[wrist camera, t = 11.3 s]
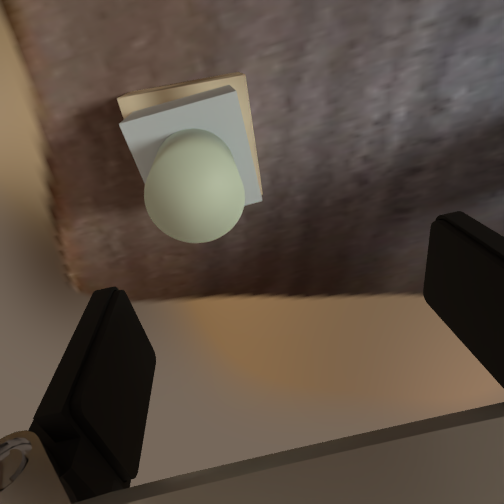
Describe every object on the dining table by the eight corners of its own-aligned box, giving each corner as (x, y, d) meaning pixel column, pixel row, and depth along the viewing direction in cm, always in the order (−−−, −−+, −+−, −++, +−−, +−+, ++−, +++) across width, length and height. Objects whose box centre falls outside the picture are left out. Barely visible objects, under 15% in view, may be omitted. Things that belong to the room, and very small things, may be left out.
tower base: (237, 71, 27) (245, 74, 23) (254, 176, 32) (262, 194, 28) (129, 91, 27) (116, 98, 23) (162, 194, 32) (156, 216, 27)
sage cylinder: (228, 122, 20) (237, 140, 15) (240, 199, 22) (250, 233, 18) (144, 135, 19) (130, 159, 15) (166, 212, 22) (159, 250, 18)
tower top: (229, 84, 23) (236, 90, 19) (252, 178, 27) (262, 200, 23) (133, 111, 23) (118, 123, 19) (169, 201, 27) (163, 228, 23)
